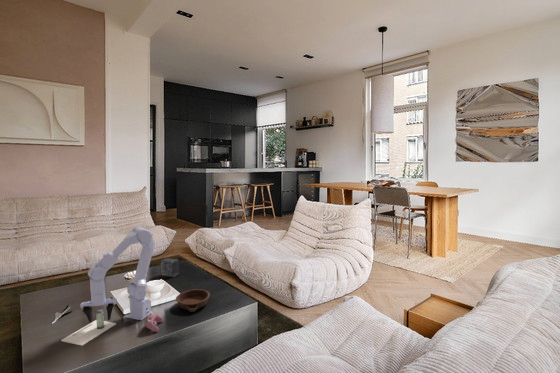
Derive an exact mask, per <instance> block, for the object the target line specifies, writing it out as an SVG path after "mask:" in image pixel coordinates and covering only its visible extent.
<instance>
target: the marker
mask: <svg viewBox="0 0 560 373" xmlns="http://www.w3.org/2000/svg"><path fill="white" fill-rule="evenodd" d="M95 318H96V319H95V320H96V322H97V329H102V328H104V321H105V317H104V309H97V310H95Z"/></svg>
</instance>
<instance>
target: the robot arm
mask: <svg viewBox="0 0 560 373" xmlns="http://www.w3.org/2000/svg"><path fill="white" fill-rule="evenodd" d="M136 244H140V245H141V246H142V248H141V251H140V255H139V258H138V262H137V267H136V270H135V275H134V277H133V278H132V279H131V280H130V281H131V282H130V283H129V285H128V286H127V293H128V294H129V299H128V300H129V312H130V313H129V314H128V315H126V318H128V319H133V320H139V321H143V320H144V319H145V318H146V319H147V318H148V316H149V315H151V314H154V312H153V311H152V302H151V300H150V299H149V298H147V297H146V296H147V291H148V290H147V286H148V285H147V280H146V279H147V274H148V271H149V269H150V265H151V264H150V263H151V260H152V255H153V252H154V248H155V242H154V238H153V233H152V232H151V231H150V230H149V229H147V228H144V227H142V226H135V227H134V228H133V229H132V230H131V231H129V232H128V234H127V235H126V236H125V237H124V238H123V240H122V241H121V242H120V243H119V244H118V245H117V246H116V247H115V248H114V250H112V251H111V252H107V253H106V254H103V256H102V258H101V259H100V260H99V261H98V262H97V263H95V264H94V266H91V267H90V268H89V269H88V272H87V276H88V277H89V281H90V282H89V285H90V286H89V287H90V288H89V289H90V296H91V297H90V298H91V300H89V301H84V302H81V303H80V304H79V305H80V309H82V312H83V314H85V316H86V318H87V320H88V322H89V324H90V323H92V322H94V319H93V307H99V306H106V307H105V309H106V314H107V321H111V319H112V313H113V309H114V306H115V305H116V304H117V303H118V302H117V301H118V300H117V298H106V285H105V279H104V278H105V277H106V275H107V272H108V271H109V270H110V269H111V268H112V267H113V266H114V265H115V264H116V263H117V262H118V258H119V256H120V255H121V254H123V252H125V251H126V250H127V249H128V248H129V247H130V246H132V245H136Z"/></svg>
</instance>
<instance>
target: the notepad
mask: <svg viewBox="0 0 560 373" xmlns="http://www.w3.org/2000/svg"><path fill="white" fill-rule="evenodd" d="M115 325H117V323H116V322H111V321H108V320H104V328H102V329H97V322H96V319H95V320H93V321H92V322H91V323H89V324H87V325H85V326H83V327H81V328H80V329H78V330H77V331H75V332H73V333H71V334H69V335H68V336H66V337H64V338H62V339H60V340H61V341H60V342H64V343H68V344H73V345H77V346H82V347H83V346H84V345H86V344H87V343H88V342H90V341H92V340H94V339H95V338H97V337H98V336H100V335H101V334H103V333H105V332H106V331H108V330H109V329H110V328H113V327H114V326H115Z"/></svg>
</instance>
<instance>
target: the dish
mask: <svg viewBox="0 0 560 373" xmlns="http://www.w3.org/2000/svg"><path fill="white" fill-rule="evenodd" d="M210 295H211V294H210V291H208V290H206V289H204V288H203V289H202V288H200V289H198V288H193V289H188V290H185V291H183V292H180V293H179V294H178V295H177V296H176V297H175V301H176V302H177V303H178V306H179V307H180V308H181V309H183V310H186V311H188V312H190V313H193V312H196V311H197V310H198V309H201V308H203V307H204V306H205V305H207V303H208V301H209V297H210Z"/></svg>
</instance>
